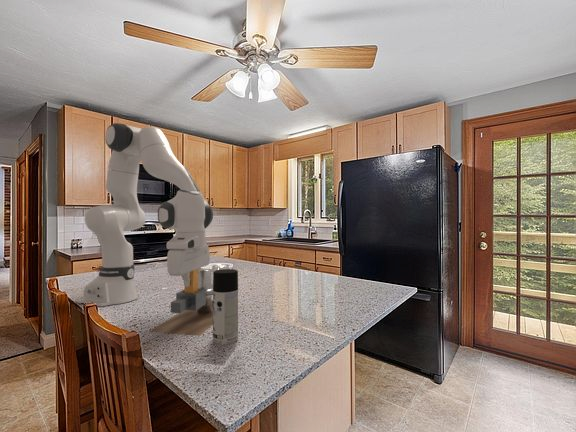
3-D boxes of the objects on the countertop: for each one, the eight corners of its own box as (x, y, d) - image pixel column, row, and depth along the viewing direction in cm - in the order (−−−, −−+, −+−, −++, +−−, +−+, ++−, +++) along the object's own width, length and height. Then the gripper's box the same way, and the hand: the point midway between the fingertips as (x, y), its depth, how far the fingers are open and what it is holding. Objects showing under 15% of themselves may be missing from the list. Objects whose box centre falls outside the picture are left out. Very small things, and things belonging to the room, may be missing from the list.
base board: (148, 336, 86) (148, 331, 86) (193, 308, 111) (193, 304, 111) (200, 340, 83) (200, 335, 83) (233, 310, 108) (233, 306, 108)
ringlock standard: (158, 330, 86) (158, 281, 86) (197, 305, 109) (197, 266, 109) (193, 333, 84) (193, 282, 84) (225, 307, 107) (225, 267, 107)
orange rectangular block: (184, 298, 93) (184, 263, 93) (189, 295, 96) (189, 261, 96) (193, 298, 92) (193, 263, 92) (198, 296, 95) (197, 262, 95)
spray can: (215, 339, 83) (214, 268, 83) (239, 338, 84) (239, 268, 84) (211, 350, 77) (210, 273, 77) (237, 349, 77) (236, 273, 77)
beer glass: (225, 307, 113) (225, 267, 112) (208, 305, 114) (208, 266, 114) (232, 301, 119) (232, 264, 119) (216, 300, 121) (216, 263, 121)
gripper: (197, 237, 105) (197, 277, 105) (162, 243, 84) (163, 292, 85) (214, 238, 103) (214, 277, 104) (183, 244, 83) (183, 293, 83)
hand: (191, 284), depth 94 cm, fingers closed on orange rectangular block, 3 cm apart
